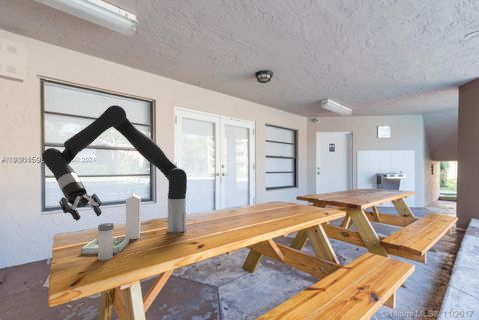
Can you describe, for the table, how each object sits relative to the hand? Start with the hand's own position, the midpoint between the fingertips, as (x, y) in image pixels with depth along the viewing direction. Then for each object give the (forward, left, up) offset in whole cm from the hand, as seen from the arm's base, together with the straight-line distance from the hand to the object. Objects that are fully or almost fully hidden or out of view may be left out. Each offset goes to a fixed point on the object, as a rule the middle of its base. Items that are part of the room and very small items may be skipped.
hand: (89, 217), depth 96 cm
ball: (-8, -8, -12) cm, 17 cm away
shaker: (-8, +5, -15) cm, 17 cm away
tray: (-4, -5, -15) cm, 16 cm away
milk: (-10, -20, -15) cm, 27 cm away
